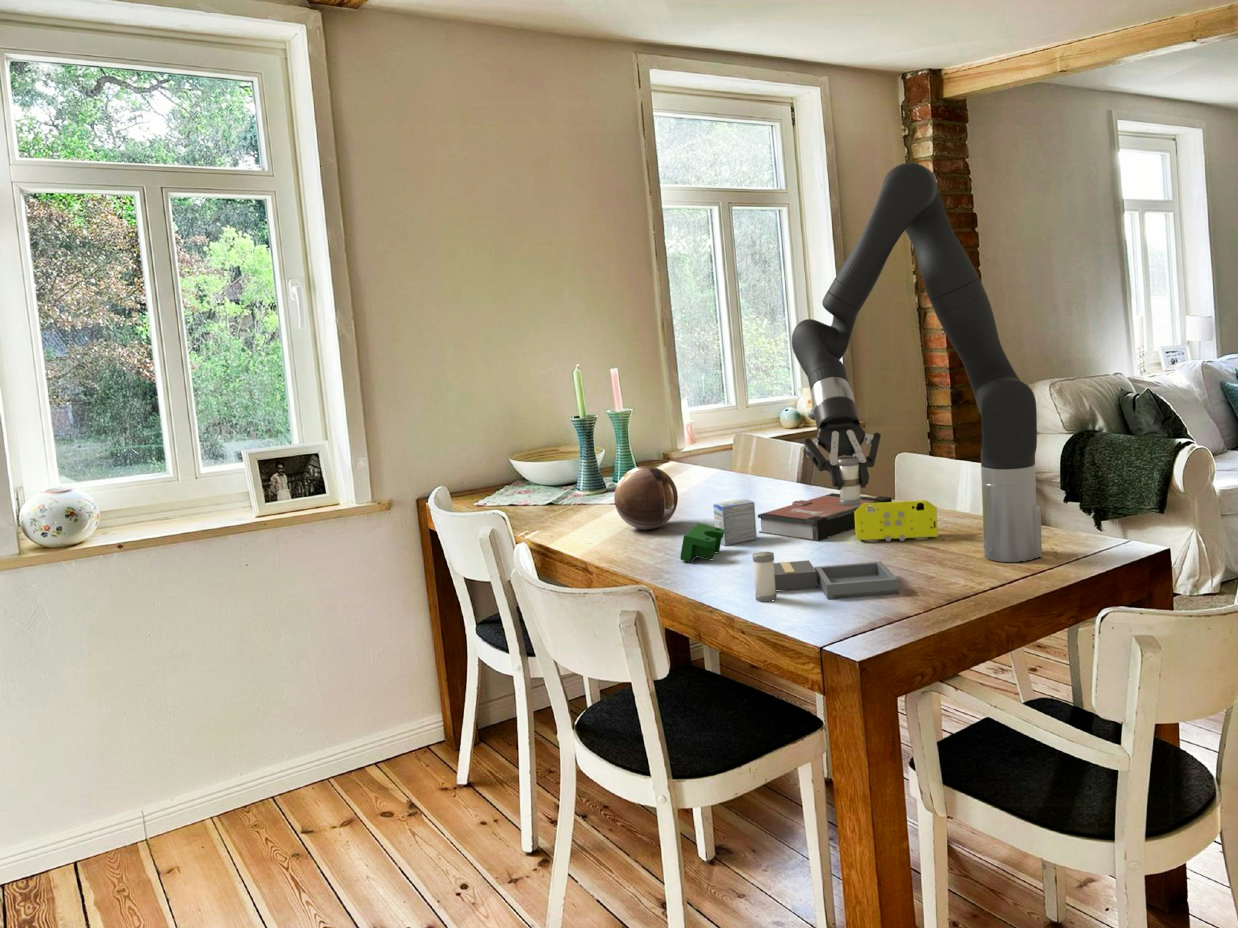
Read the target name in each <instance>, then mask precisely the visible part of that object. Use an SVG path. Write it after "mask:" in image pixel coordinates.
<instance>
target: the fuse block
mask: <svg viewBox="0 0 1238 928" xmlns="http://www.w3.org/2000/svg"><path fill="white" fill-rule="evenodd" d="M814 567H815V566H813V565H812V563H811V561H810V560H808V559H807V560H797V561H780V562H774V573H775V587H776V590H788V591H795V590H796V591H798V590H808V589H809V590H811V589H818V584H817V574H816V570H815V568H814Z"/></svg>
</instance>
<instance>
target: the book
mask: <svg viewBox="0 0 1238 928" xmlns="http://www.w3.org/2000/svg"><path fill="white" fill-rule="evenodd" d="M860 497H861V504H860V505H857V506H841V505H840V493H834V492H832V493H829V494H825V495H822V496H819V497H815V498H811V499H807V500H803V499H802V500H795V501H793V502H792V504H790V505H786V506H784V507H780V508H777V509H774V510H769V511H766V512H762V513H759V514H757V518H758V519H760V527H761V530H759V531H758V533H759V534H766V535H772V536H778V537H784V538H785V537H786V538H790V539H791V538H792V539H799V540H805V541H812V542H821V541H825V540H828V538H830V537H834V536H836V535H839V534H842V533H843V534H844V533H845V532H848V531H851V530H854V529H855V514H854V512H855V511H856V510H857V509H858V508H859V507H861V506H862V505H863V504H865V503H885V502H893V499H892V498H893V497H890V496H883V495H879V496H876V497H871V496H863V495H860Z"/></svg>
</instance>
